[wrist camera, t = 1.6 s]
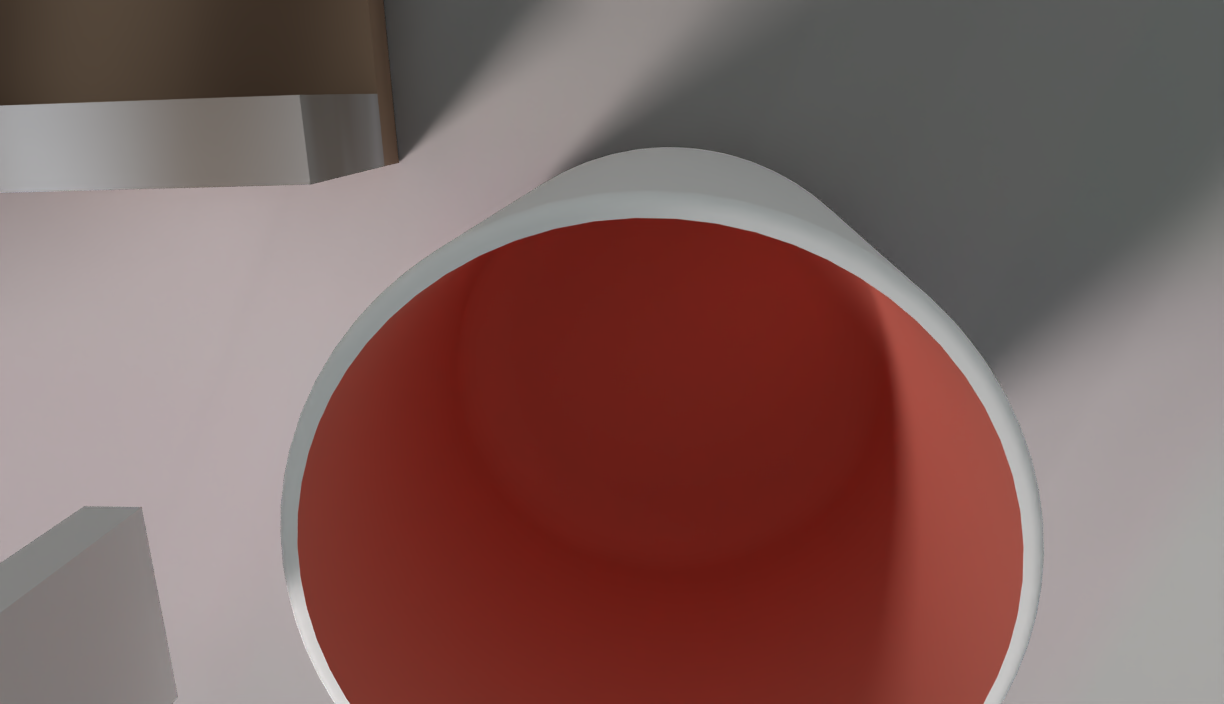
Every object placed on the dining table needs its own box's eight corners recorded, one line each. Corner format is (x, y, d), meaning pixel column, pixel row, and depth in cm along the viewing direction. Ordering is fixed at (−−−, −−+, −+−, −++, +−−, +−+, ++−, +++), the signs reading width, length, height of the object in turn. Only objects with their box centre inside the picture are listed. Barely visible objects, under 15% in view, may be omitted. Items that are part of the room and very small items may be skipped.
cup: (388, 422, 23) (162, 668, 13) (592, 54, 20) (498, 22, 10) (733, 622, 23) (760, 994, 14) (977, 294, 20) (1225, 473, 11)
